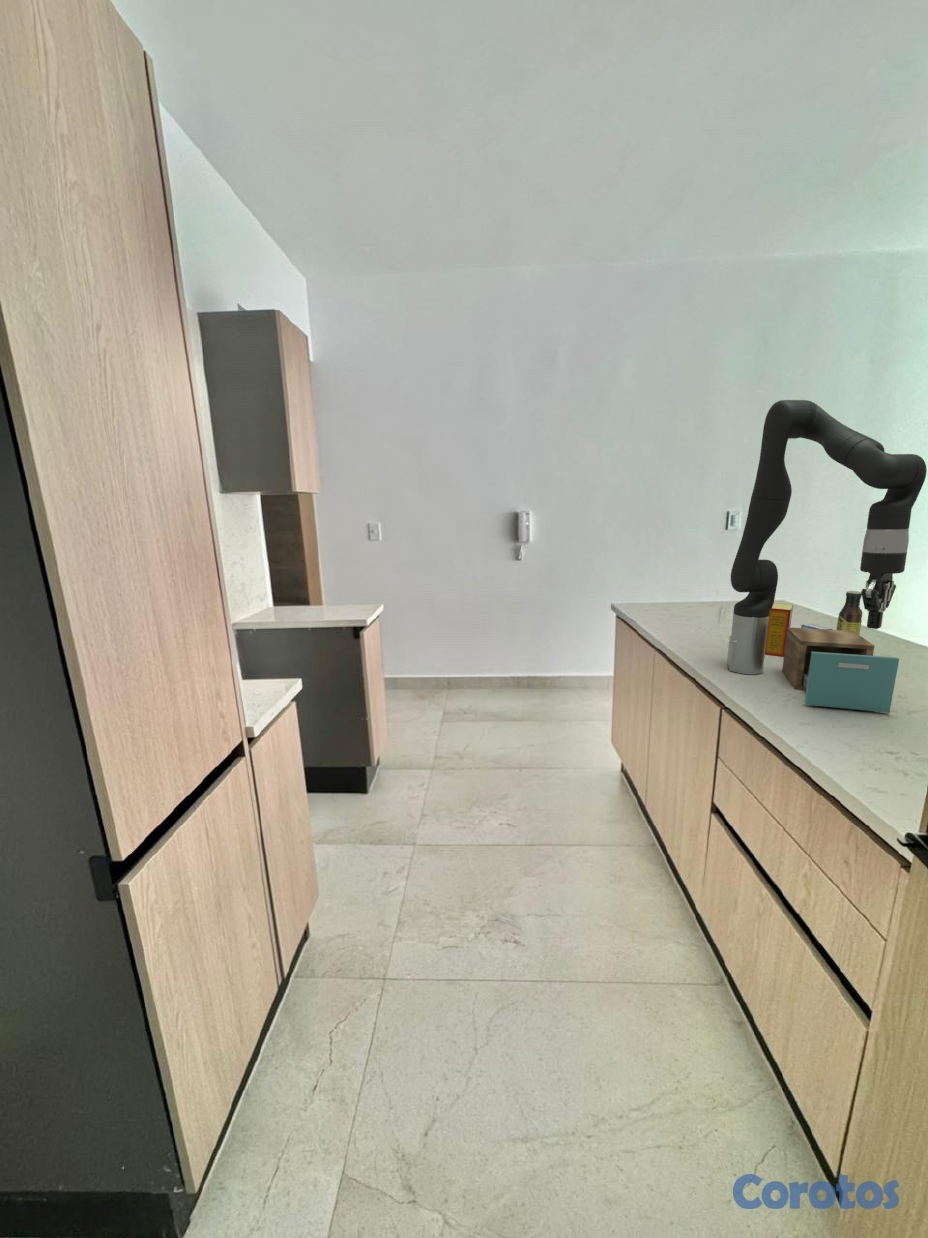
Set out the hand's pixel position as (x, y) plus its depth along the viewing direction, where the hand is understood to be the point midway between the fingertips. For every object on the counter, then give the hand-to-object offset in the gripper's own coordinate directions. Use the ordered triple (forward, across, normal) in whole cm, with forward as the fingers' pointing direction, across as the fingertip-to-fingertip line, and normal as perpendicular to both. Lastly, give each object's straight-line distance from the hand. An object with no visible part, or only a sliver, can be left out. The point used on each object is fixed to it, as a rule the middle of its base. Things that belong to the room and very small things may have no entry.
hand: (873, 627), depth 113 cm
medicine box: (+21, +49, +30) cm, 61 cm away
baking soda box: (+21, +39, +37) cm, 58 cm away
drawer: (+21, +9, +8) cm, 25 cm away
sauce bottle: (+21, +58, +24) cm, 66 cm away
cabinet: (+21, +20, +16) cm, 33 cm away
